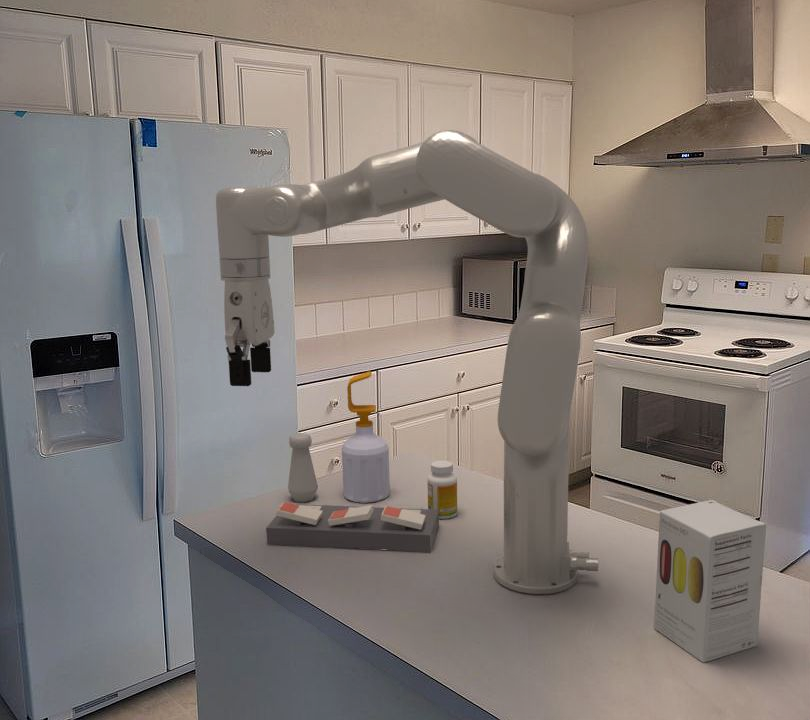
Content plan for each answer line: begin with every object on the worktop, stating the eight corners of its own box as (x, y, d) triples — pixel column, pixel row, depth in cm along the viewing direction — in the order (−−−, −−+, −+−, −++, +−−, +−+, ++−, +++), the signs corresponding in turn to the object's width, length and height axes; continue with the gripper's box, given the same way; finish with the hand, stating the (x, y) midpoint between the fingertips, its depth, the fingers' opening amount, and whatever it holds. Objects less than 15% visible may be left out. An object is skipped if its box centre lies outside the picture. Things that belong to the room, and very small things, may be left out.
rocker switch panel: (439, 525, 144) (438, 506, 143) (430, 552, 133) (430, 531, 132) (287, 519, 148) (285, 500, 148) (267, 544, 138) (265, 523, 137)
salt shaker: (304, 491, 163) (301, 428, 160) (324, 497, 159) (321, 433, 156) (282, 499, 158) (278, 435, 156) (302, 506, 155) (299, 440, 152)
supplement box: (651, 628, 108) (656, 509, 105) (704, 613, 112) (710, 497, 109) (704, 664, 100) (711, 536, 96) (760, 646, 103) (768, 522, 100)
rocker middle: (373, 510, 139) (372, 504, 139) (368, 519, 135) (367, 513, 135) (335, 516, 141) (333, 510, 140) (329, 525, 137) (327, 519, 136)
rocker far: (322, 516, 141) (323, 510, 141) (315, 525, 137) (316, 519, 137) (283, 506, 142) (284, 500, 142) (276, 515, 138) (277, 509, 138)
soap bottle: (389, 503, 155) (385, 377, 150) (341, 504, 155) (336, 378, 150) (390, 486, 164) (387, 367, 159) (345, 487, 164) (340, 368, 159)
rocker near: (424, 520, 138) (425, 514, 138) (421, 529, 134) (422, 523, 134) (384, 510, 139) (385, 504, 139) (380, 519, 135) (381, 513, 135)
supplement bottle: (462, 511, 150) (462, 461, 148) (448, 521, 145) (447, 470, 144) (437, 506, 153) (436, 457, 151) (422, 516, 148) (421, 465, 146)
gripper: (250, 274, 115) (256, 392, 119) (285, 264, 132) (290, 367, 136) (199, 275, 117) (207, 391, 120) (241, 264, 133) (247, 366, 137)
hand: (251, 378), depth 128 cm, fingers open, 9 cm apart
